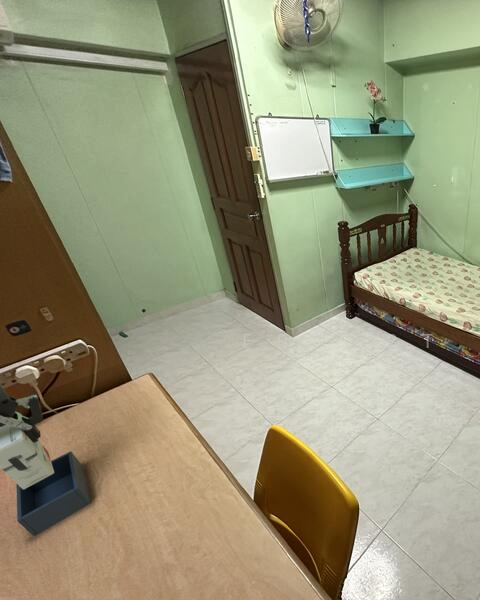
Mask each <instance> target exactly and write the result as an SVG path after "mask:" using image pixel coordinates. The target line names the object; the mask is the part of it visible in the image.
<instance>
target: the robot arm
mask: <svg viewBox="0 0 480 600" xmlns="http://www.w3.org/2000/svg"><path fill="white" fill-rule="evenodd" d="M19 406H22V407H24V408H25V409H30V412H31V416H30V417H27V416H25V415H22V413H20V412H18V411H17V409H18V407H19ZM42 411H43V410H42V407H41V404H40V400H39V396H38V394H37V393H36V392H32V393H29V394H28V396H25V397H21V398H15V397H12V396H10V395H9V394H8V393H7V392H6V391H5V389H4V388H3V387H2V385H0V427H2V426H5V425H8V426H11V427H17V428H20V429H22V430H24V433H25V434H26V435H27V436H28V437H29V438H30V440H31V441H32V442H33V443H35V442H37V441H40V440H39V439H41V431H40V429H39V428H38V427H37V426H36V425H37V424H40V423H41V422H43V420H44V418H43V417H44V416H43V412H42Z"/></svg>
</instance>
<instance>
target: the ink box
mask: <svg viewBox="0 0 480 600" xmlns="http://www.w3.org/2000/svg"><path fill="white" fill-rule="evenodd" d="M51 461H52V460H51V456H50V453H49V450H48V449H46V447H45V446H44V445H43V444H42V443H41V441H40V440H39V441H37V442H35V443H33V442H32V441H31V440H30V438H29V437H28V436H27V435H26V434H25V433H24V430H22V429H20V428H17V427H11V426H8V425H5V426H2V427H0V469H1V471H3V472H4V473H5V474H6V475H7V476H9V478H10V479H11V480H13V482H15V484H16V485H17V484H18V485H19V486H20V487H21V488H22V489H23V490H24V489H26V488H28V487H29V486H31V485H33V484H35V483H37V482H39V481H41V480H43V479H44V478H46V477H48V476H50V475H52V474H54V470H53V467H52V463H51Z"/></svg>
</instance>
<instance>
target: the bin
mask: <svg viewBox="0 0 480 600" xmlns="http://www.w3.org/2000/svg"><path fill="white" fill-rule="evenodd" d="M51 463H52V467H53V470H54V474H52V475H50V476H48V477H46V478H44V479H43V480H41V481H39V482H37V483H35V484H33V485H31V486H29V487H28V488H26V489H24V490H23V489H22V488H21V487H20V486H19V485H18V484H17V483H16V520H17V523H18V524H20V525H21V526H22V527H23V528H24V529H25V530H26V531H27V532H28V533H30V534H31V535H32V536H33V537H36V536H38V535H39V534H41V533H43V532H45V531H46V530H48V529H49V528H51V527H53V526H55V525H56V524H58V523H60V522H61V521H63V520H65V519H66V518H68V517H70V516H72V515H74V514H75V513H77V512H78V511H80V510H81V509H84V508H86V507H87V506H89V505H90V504H92V502H91V495H90V492H89V487H88V483H87V479H86V474H85V469H84V466H83V464H82V463H81V462H80V460H79V459H78V458H77V457H76V456H75V454H74V453H73V451H68V452H65V453H64V454H62V455H60V456H58V457H56V458H54V459H52V460H51Z"/></svg>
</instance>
